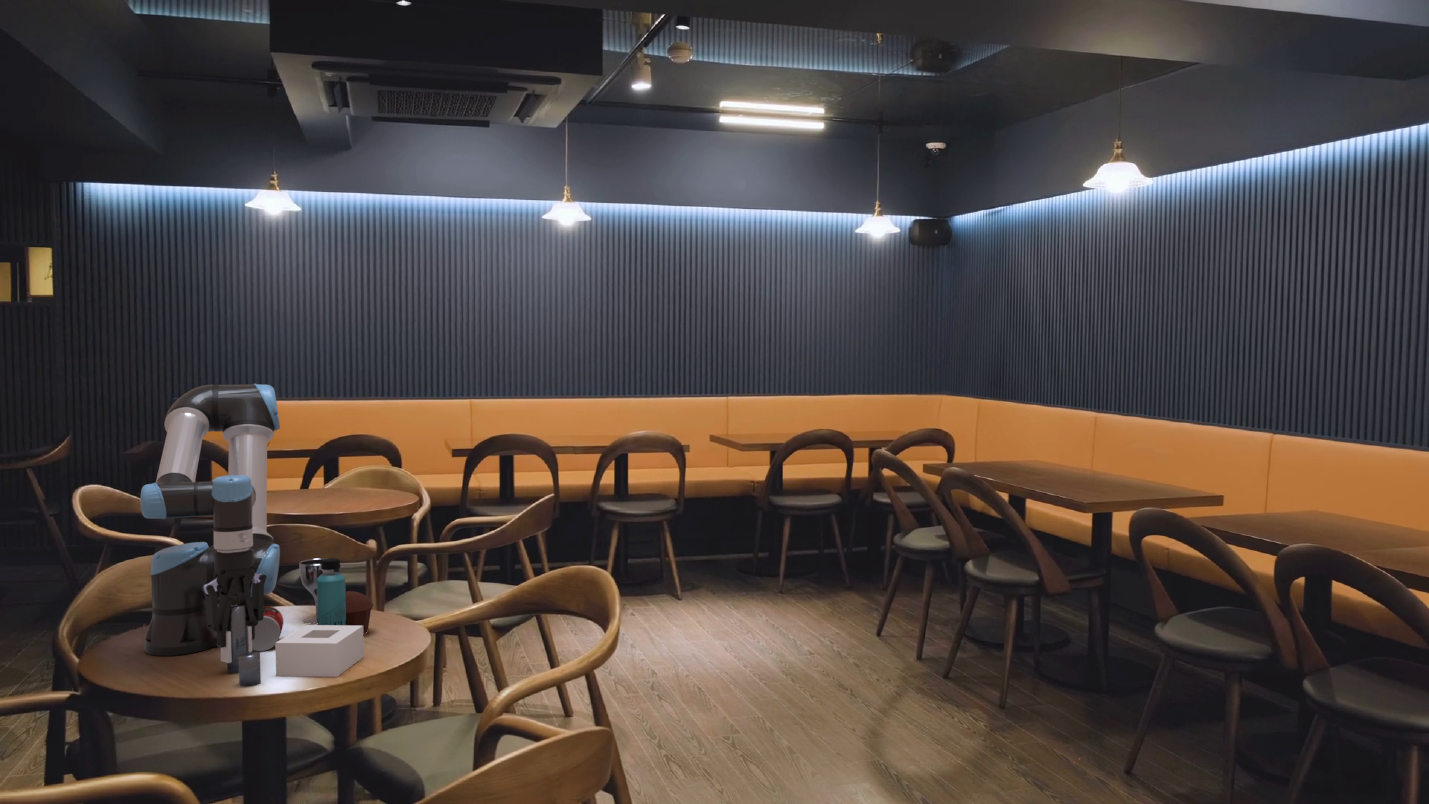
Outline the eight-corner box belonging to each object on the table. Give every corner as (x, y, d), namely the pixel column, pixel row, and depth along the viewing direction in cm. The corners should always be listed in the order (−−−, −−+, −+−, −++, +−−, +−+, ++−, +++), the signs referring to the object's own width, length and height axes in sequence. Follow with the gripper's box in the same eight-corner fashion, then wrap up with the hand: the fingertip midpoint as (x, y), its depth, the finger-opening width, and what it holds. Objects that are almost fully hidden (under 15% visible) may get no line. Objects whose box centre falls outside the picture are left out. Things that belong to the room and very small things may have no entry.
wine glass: (307, 626, 253) (306, 566, 252) (296, 620, 259) (294, 561, 258) (339, 620, 258) (338, 561, 257) (327, 614, 264) (326, 557, 263)
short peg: (235, 686, 207) (234, 657, 207) (245, 680, 211) (244, 651, 211) (254, 687, 207) (253, 657, 207) (264, 680, 211) (263, 651, 211)
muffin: (314, 640, 240) (314, 598, 240) (331, 628, 251) (330, 587, 251) (366, 640, 240) (365, 598, 240) (380, 627, 252) (379, 587, 251)
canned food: (280, 601, 243) (276, 612, 232) (287, 634, 243) (283, 646, 233) (245, 609, 240) (239, 621, 230) (252, 642, 241) (247, 655, 231)
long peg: (222, 673, 216) (221, 607, 215) (232, 667, 220) (231, 603, 219) (241, 674, 215) (239, 607, 215) (251, 668, 219) (249, 603, 219)
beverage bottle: (333, 650, 232) (332, 562, 231) (310, 647, 235) (309, 560, 234) (353, 642, 238) (352, 557, 237) (330, 639, 241) (329, 555, 240)
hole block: (276, 675, 214) (275, 642, 214) (306, 656, 228) (305, 625, 228) (337, 676, 213) (336, 643, 213) (363, 656, 227) (363, 625, 227)
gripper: (204, 557, 207) (208, 672, 208) (281, 544, 221) (283, 651, 222) (184, 554, 211) (187, 666, 212) (260, 541, 225) (262, 646, 227)
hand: (236, 658), depth 217 cm, fingers closed on long peg, 4 cm apart
